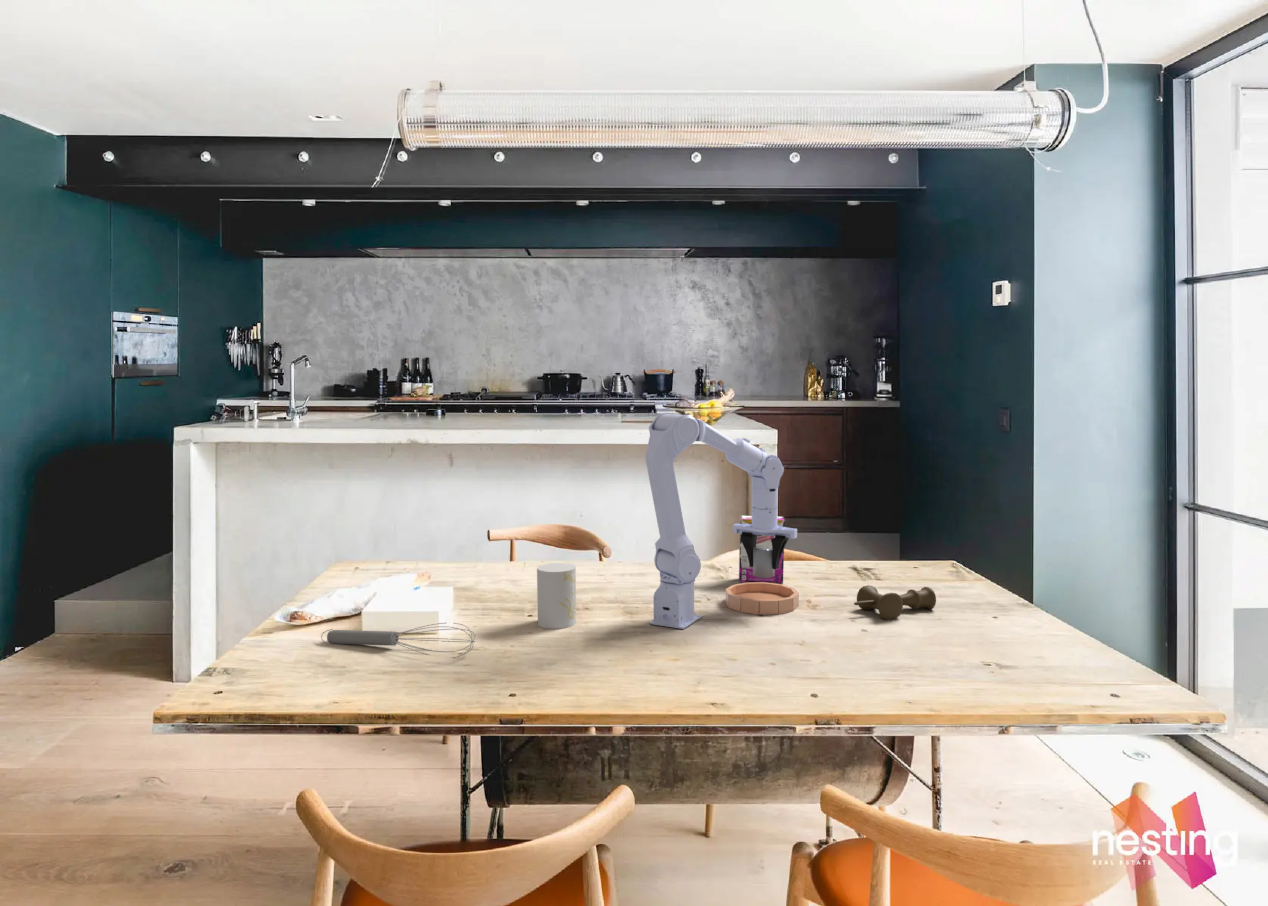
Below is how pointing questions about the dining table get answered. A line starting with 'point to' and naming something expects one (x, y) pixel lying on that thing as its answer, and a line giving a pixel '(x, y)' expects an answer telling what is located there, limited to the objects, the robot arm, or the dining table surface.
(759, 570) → the grey cylinder
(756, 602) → the bowl
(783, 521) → the candy bar box
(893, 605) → the kendama
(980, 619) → the dining table surface
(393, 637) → the kitchen whisk
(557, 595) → the white cylinder
